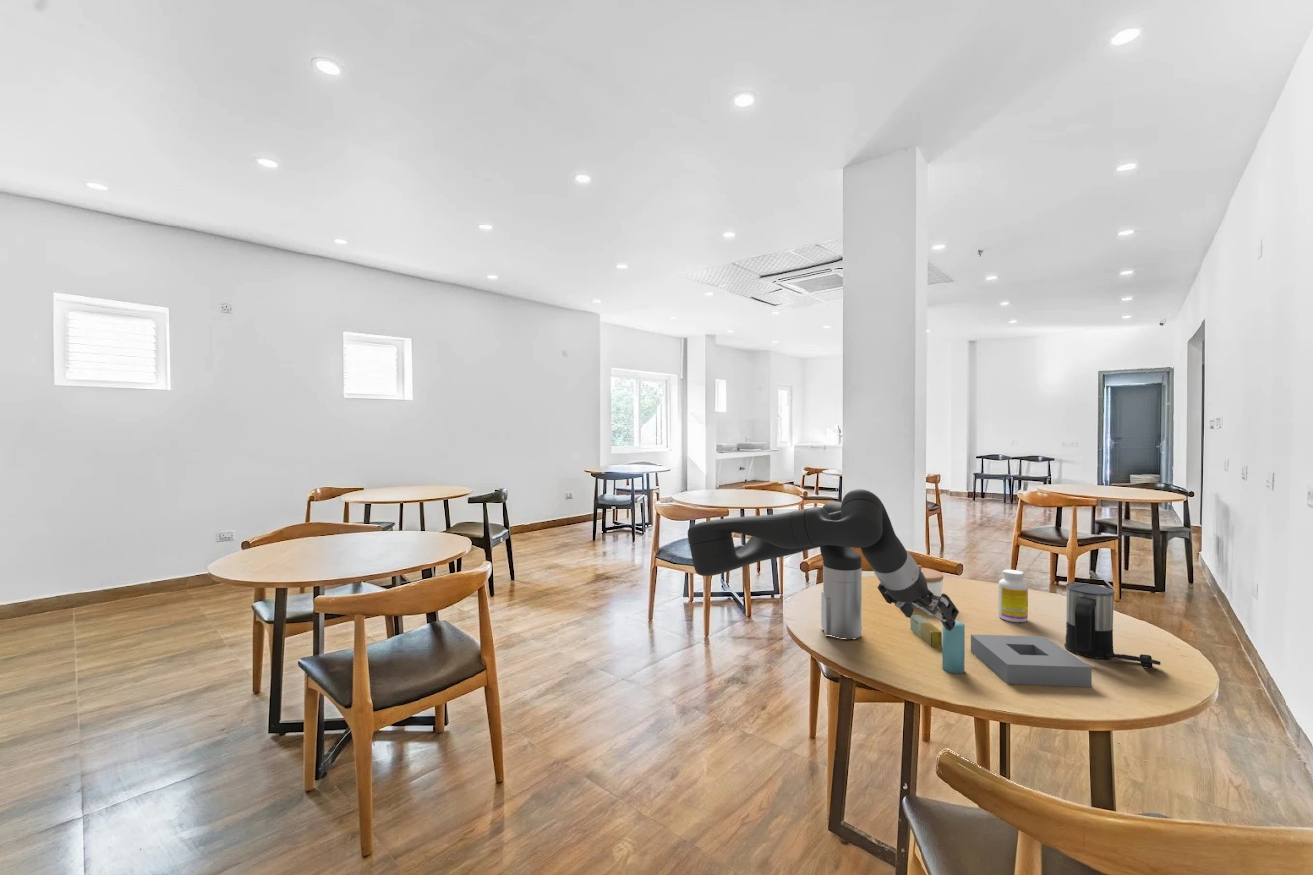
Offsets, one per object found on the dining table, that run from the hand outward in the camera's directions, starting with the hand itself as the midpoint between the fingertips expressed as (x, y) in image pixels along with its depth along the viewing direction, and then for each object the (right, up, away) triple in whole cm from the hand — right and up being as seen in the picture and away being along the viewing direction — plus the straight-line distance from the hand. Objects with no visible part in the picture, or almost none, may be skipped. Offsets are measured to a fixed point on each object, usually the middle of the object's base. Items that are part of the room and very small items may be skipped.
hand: (930, 620), depth 113 cm
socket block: (+24, -13, +7) cm, 28 cm away
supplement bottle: (+40, -12, +37) cm, 56 cm away
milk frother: (+46, -13, +12) cm, 49 cm away
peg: (+8, -13, +7) cm, 17 cm away
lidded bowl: (+22, -12, +50) cm, 56 cm away
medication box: (+11, -13, +24) cm, 30 cm away
